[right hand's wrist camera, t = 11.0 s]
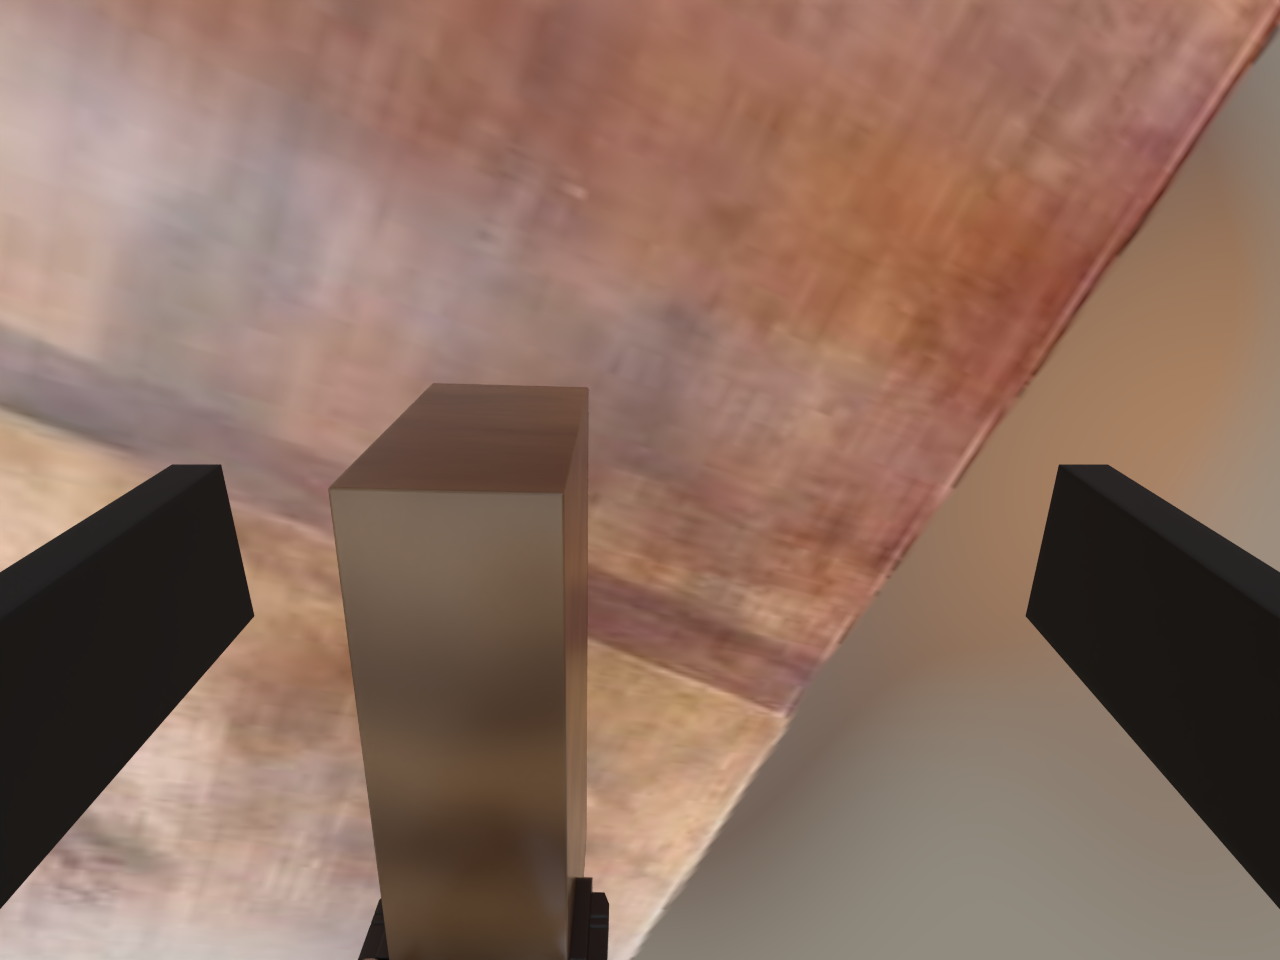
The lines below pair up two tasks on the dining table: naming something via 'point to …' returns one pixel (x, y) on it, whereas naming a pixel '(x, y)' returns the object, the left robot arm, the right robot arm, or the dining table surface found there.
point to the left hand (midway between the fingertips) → (500, 892)
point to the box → (472, 665)
